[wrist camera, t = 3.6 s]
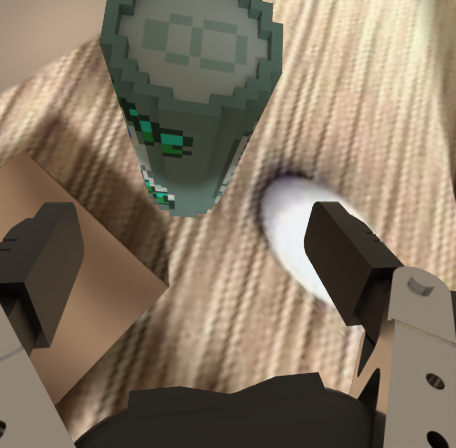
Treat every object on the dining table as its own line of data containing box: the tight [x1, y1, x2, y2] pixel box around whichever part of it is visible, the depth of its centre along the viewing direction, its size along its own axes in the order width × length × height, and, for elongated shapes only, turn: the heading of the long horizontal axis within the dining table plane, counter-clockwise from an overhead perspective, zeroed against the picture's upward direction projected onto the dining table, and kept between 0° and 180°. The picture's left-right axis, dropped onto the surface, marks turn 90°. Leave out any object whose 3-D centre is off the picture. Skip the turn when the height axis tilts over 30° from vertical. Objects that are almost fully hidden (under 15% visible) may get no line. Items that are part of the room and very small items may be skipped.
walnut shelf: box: [0, 151, 169, 406], centre depth 19 cm, size 14×12×5 cm
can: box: [100, 0, 283, 218], centre depth 18 cm, size 6×6×15 cm
